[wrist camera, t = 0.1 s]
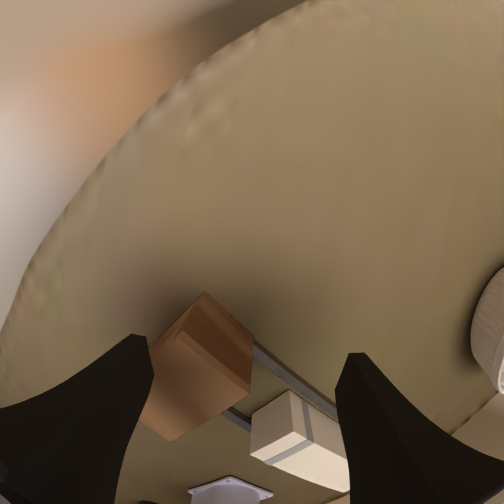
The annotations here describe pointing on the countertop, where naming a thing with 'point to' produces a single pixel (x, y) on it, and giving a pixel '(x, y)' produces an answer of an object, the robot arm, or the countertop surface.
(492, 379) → the ramekin
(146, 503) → the travel mug
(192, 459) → the countertop surface
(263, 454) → the banded cream case
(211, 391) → the socket block
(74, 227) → the countertop surface
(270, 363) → the guide channel
